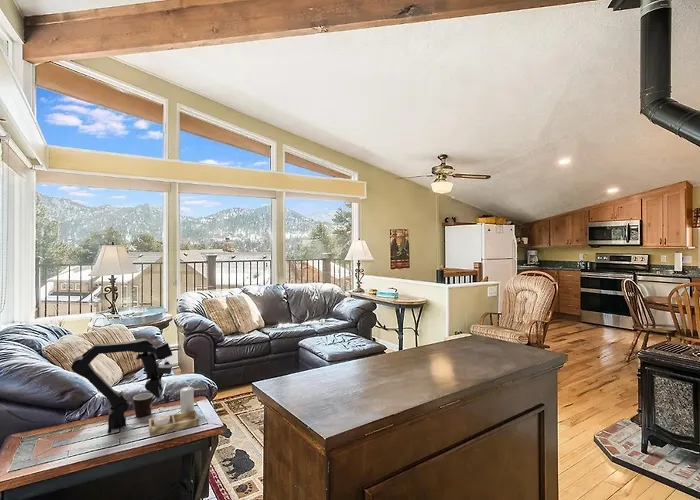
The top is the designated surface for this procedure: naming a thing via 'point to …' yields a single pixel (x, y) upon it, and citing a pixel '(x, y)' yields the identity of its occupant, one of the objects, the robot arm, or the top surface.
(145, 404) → the coffee mug
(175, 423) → the open wooden box
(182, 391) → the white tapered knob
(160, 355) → the robot arm
